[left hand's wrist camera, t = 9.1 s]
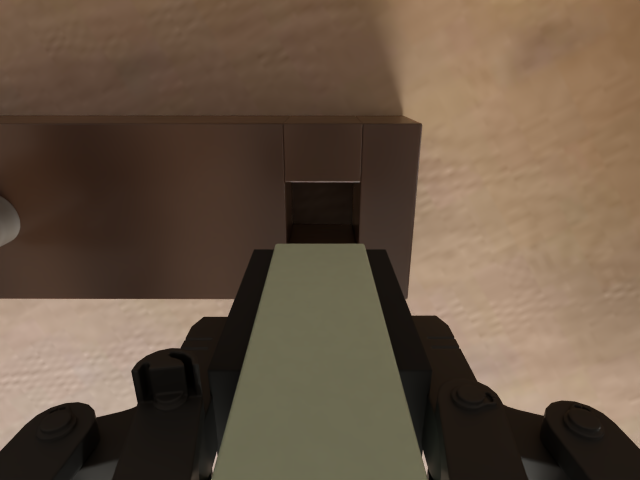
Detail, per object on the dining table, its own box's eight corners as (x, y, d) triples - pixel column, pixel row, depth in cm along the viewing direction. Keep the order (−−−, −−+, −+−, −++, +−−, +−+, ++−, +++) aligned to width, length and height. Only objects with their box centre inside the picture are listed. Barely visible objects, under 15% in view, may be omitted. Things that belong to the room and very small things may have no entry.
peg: (364, 242, 15) (440, 520, 5) (361, 319, 16) (419, 658, 7) (275, 242, 15) (197, 520, 5) (278, 319, 16) (219, 657, 7)
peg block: (404, 115, 25) (469, 143, 14) (393, 264, 29) (439, 380, 18) (-19, 115, 25) (-287, 142, 14) (23, 263, 29) (-165, 378, 18)
